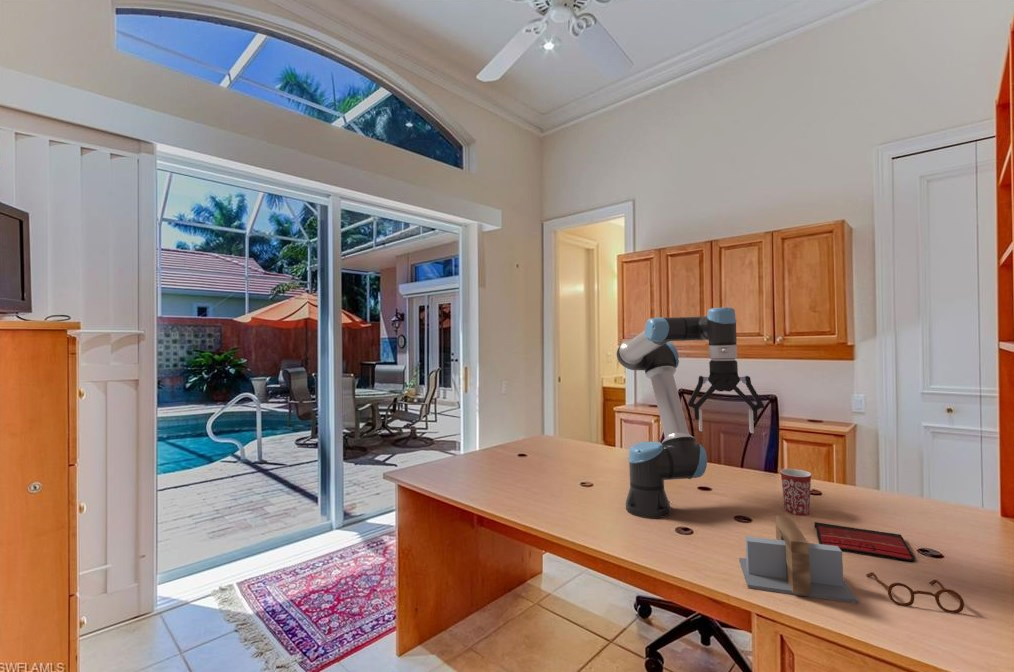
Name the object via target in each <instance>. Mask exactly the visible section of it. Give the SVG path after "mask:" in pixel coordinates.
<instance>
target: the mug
mask: <svg viewBox="0 0 1014 672" xmlns="http://www.w3.org/2000/svg"><path fill="white" fill-rule="evenodd" d="M779 472H780V476H781V485H782V486H781V487H782V498H783V508H784V511H785V512H786V513H788V514H790V513H791V515H795V516H799V517H800V516H809V515H810V514H811V484H812V483H811V482H812V480H811V479H812V475H813V474H812V473H811V472H809V471H806V470H803V469H796V468H783V469H780V470H779Z"/></svg>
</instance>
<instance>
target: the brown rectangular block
mask: <svg viewBox="0 0 1014 672" xmlns="http://www.w3.org/2000/svg"><path fill="white" fill-rule="evenodd" d="M775 530H776V531H775V535H776V538H775V539H776V540H785V546H786V571H787V581H788V584H789V586H790V588H791V590H792V592H793V593H797V594H804V595H811V589H810V564H809V543H810V542H809V541H808V540H807V538H806V537H805V535H804V534H803V533H802V531H801V529H800V528H799V527H798V525H797V523H796V522H795V520H794V519H793V518H792V517H791V516H787V515H786V516H785V515H777V514H776V515H775Z"/></svg>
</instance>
